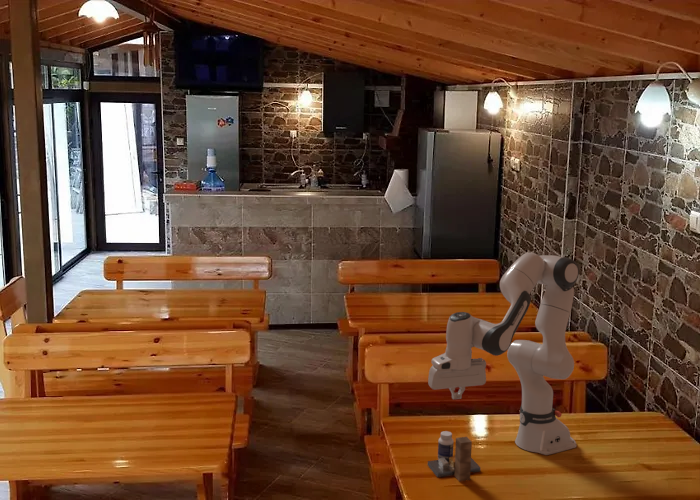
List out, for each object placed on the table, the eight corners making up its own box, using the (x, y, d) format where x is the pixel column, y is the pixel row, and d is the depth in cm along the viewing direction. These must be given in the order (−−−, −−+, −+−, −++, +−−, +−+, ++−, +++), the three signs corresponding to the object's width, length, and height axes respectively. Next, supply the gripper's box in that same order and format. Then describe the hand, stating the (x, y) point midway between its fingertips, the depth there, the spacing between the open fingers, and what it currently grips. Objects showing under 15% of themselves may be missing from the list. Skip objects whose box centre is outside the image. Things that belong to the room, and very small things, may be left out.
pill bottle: (452, 462, 269) (453, 437, 267) (437, 461, 270) (438, 435, 268) (453, 456, 274) (454, 430, 272) (438, 454, 275) (439, 429, 273)
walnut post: (465, 474, 261) (466, 436, 258) (470, 480, 257) (471, 441, 254) (454, 475, 260) (455, 437, 257) (459, 481, 256) (460, 443, 253)
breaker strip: (469, 459, 272) (469, 450, 271) (480, 471, 263) (480, 462, 262) (427, 465, 267) (427, 456, 267) (437, 477, 259) (437, 468, 258)
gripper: (482, 354, 263) (480, 392, 266) (427, 359, 257) (425, 397, 260) (490, 360, 257) (488, 399, 260) (434, 365, 252) (432, 404, 254)
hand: (456, 398), depth 260 cm, fingers closed
